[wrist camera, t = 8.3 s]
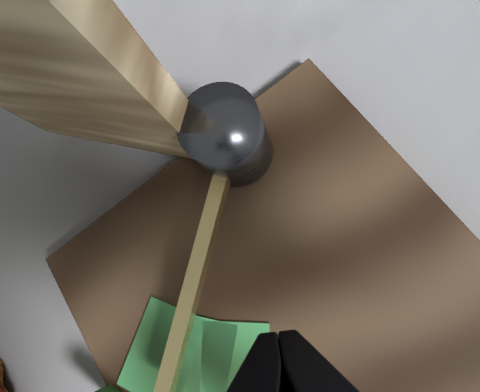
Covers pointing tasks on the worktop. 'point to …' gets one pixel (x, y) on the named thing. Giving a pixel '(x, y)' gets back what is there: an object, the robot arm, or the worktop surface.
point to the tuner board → (286, 261)
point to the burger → (0, 389)
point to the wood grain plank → (130, 115)
